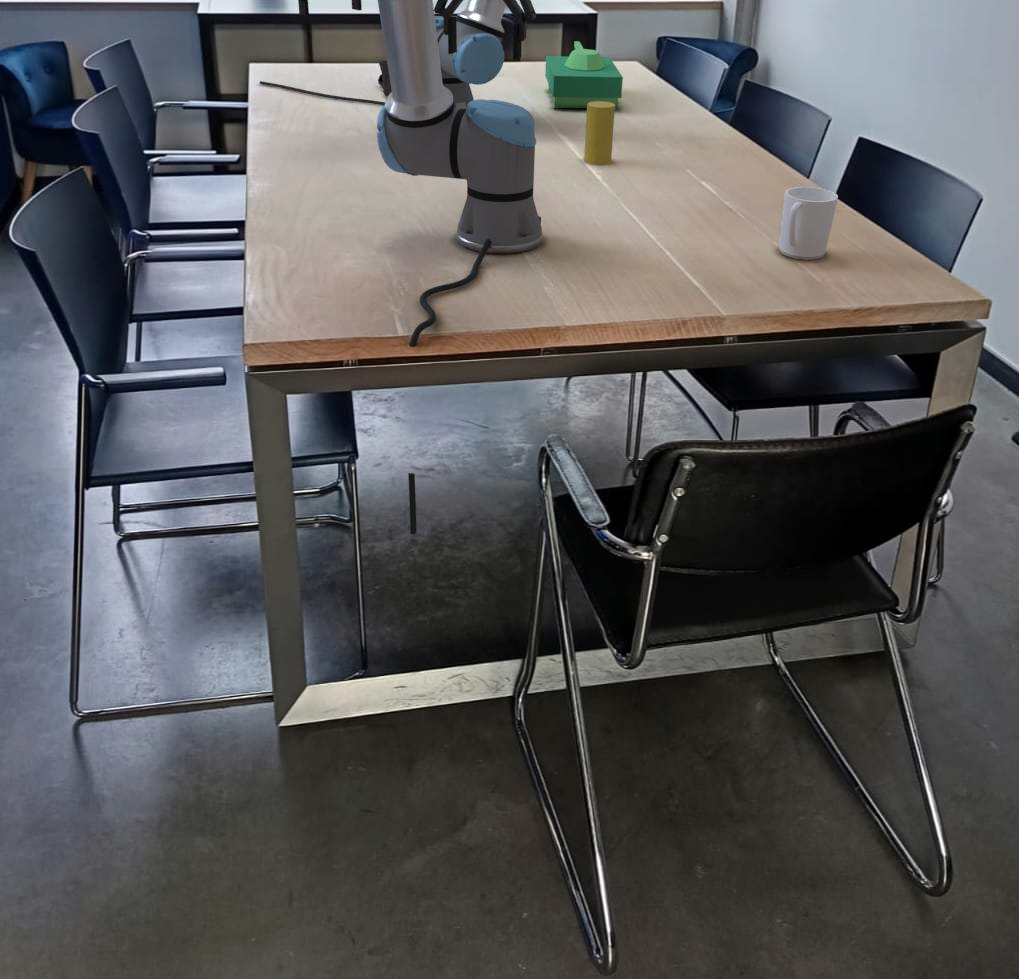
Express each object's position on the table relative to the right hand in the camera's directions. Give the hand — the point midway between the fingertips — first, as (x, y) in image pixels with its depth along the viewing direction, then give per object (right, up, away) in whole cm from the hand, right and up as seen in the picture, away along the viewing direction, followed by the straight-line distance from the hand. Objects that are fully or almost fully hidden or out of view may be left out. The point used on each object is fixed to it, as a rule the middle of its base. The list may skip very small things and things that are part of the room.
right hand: (484, 55), depth 216 cm
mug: (+56, -44, -23) cm, 75 cm away
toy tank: (+24, +22, +83) cm, 89 cm away
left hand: (-34, +19, +23) cm, 45 cm away
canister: (+25, -13, +27) cm, 39 cm away
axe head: (-24, +24, +85) cm, 91 cm away
